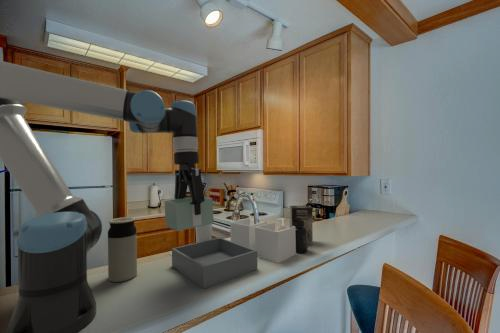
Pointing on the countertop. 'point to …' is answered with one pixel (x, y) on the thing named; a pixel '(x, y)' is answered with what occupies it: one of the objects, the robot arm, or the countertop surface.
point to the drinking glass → (203, 233)
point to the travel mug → (122, 249)
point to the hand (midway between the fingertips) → (189, 223)
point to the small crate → (186, 213)
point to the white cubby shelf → (264, 239)
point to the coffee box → (306, 216)
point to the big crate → (213, 261)
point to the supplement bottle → (300, 236)
